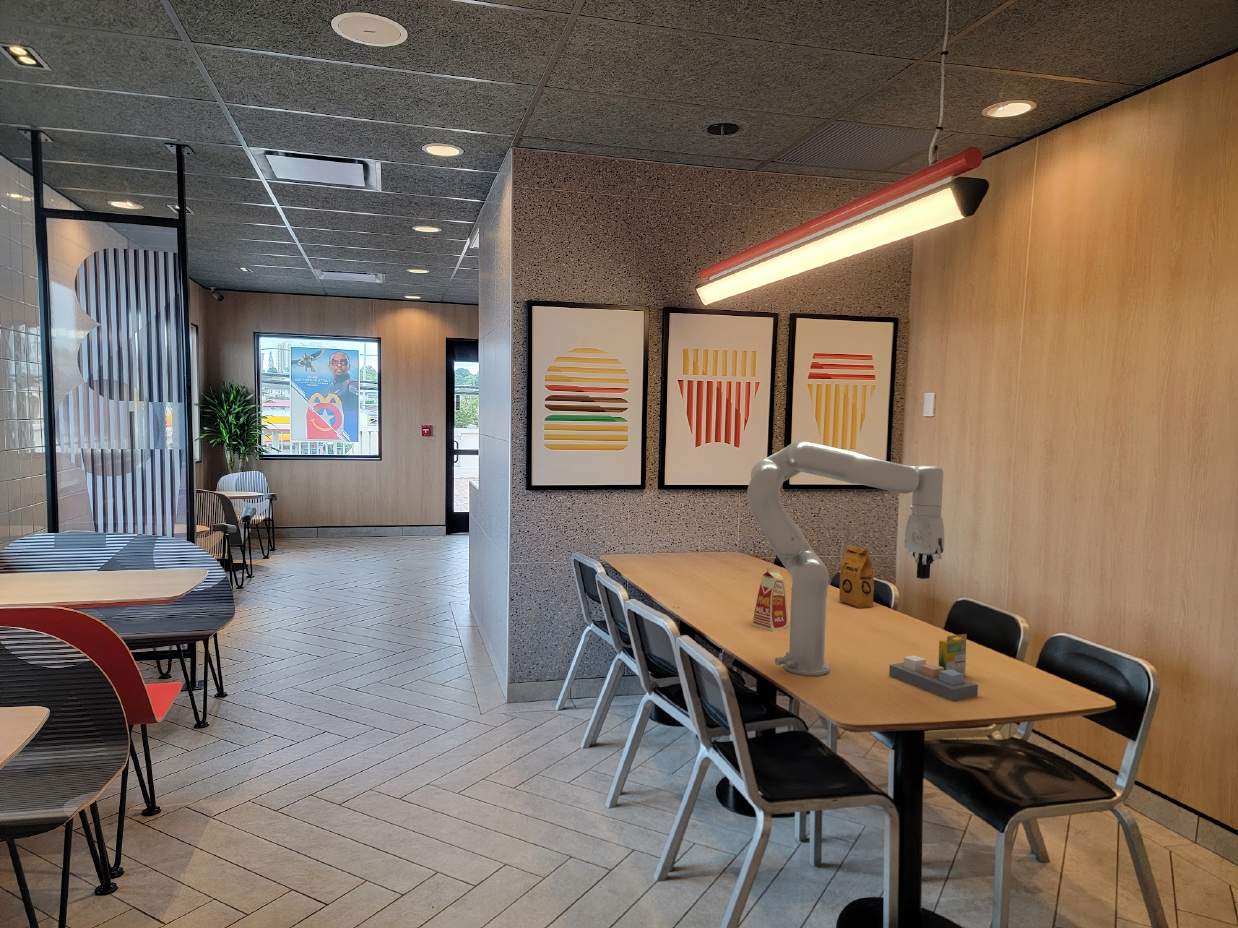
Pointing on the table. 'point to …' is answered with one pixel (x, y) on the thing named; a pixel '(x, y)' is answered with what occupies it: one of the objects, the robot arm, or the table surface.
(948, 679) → the slate key
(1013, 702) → the table surface
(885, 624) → the table surface
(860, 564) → the coffee package
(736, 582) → the table surface
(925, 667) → the terracotta key
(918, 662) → the ivory key
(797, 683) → the table surface
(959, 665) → the crayon box
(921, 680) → the panel
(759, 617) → the milk carton
